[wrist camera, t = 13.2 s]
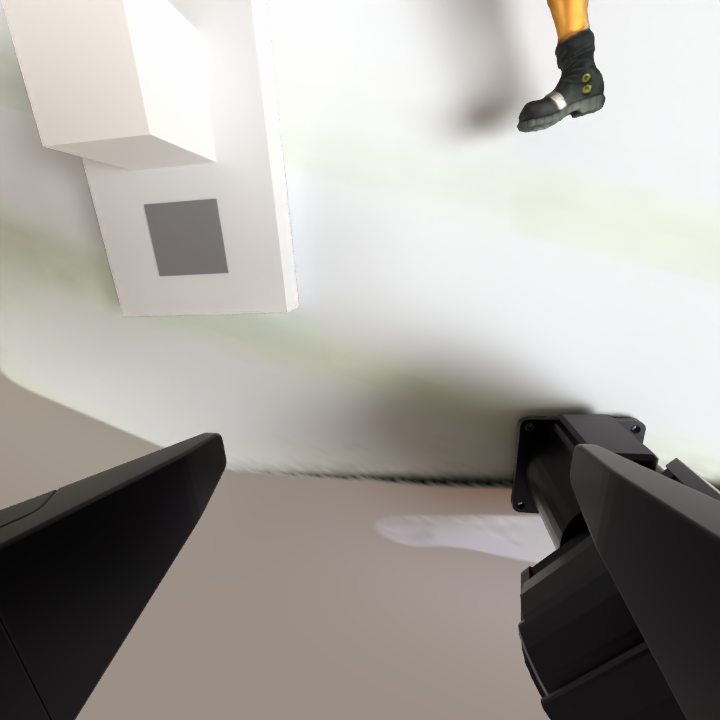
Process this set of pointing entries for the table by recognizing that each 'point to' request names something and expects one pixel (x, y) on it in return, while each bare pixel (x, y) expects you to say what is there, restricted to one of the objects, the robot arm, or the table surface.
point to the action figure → (568, 71)
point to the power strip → (209, 190)
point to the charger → (114, 80)
